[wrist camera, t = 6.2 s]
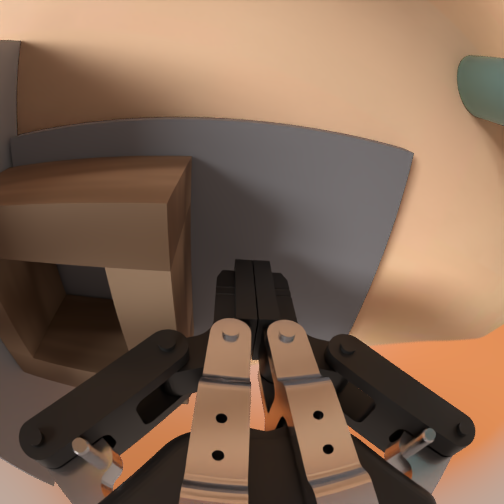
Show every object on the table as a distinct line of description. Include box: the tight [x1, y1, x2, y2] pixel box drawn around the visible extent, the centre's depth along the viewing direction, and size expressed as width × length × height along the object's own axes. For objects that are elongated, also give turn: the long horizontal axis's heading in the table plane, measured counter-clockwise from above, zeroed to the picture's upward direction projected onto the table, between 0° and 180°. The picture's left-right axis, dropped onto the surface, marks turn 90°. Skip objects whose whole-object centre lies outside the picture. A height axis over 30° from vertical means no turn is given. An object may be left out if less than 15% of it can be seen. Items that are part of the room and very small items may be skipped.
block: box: [0, 156, 194, 404], centre depth 11 cm, size 10×10×5 cm
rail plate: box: [10, 117, 414, 341], centre depth 14 cm, size 13×20×1 cm, turn 84°
